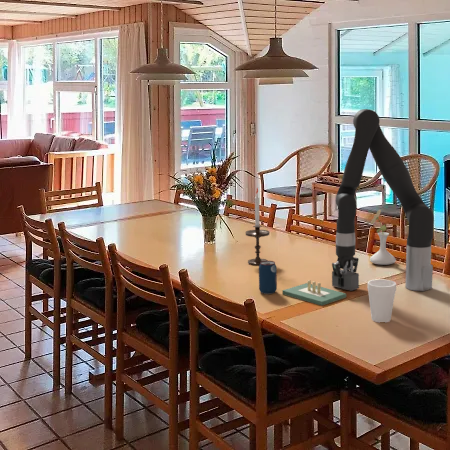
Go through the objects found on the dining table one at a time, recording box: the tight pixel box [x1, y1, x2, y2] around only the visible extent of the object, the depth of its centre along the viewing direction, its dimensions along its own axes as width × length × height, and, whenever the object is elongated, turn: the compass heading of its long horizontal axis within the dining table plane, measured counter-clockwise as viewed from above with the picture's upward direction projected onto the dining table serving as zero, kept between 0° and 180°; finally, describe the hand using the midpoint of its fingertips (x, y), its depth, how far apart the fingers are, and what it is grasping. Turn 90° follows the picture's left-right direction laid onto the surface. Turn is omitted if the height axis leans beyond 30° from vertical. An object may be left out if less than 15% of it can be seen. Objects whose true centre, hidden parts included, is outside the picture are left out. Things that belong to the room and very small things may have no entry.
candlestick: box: [245, 187, 270, 266], centre depth 306 cm, size 11×11×35 cm
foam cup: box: [367, 278, 397, 323], centre depth 230 cm, size 10×9×13 cm
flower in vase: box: [369, 209, 397, 266], centre depth 300 cm, size 13×11×25 cm
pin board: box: [282, 279, 347, 307], centre depth 259 cm, size 20×14×6 cm
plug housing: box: [331, 270, 360, 292], centre depth 268 cm, size 10×5×6 cm, turn 41°
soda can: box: [258, 260, 278, 295], centre depth 265 cm, size 7×7×12 cm
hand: (345, 285), depth 268 cm, fingers closed on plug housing, 4 cm apart
